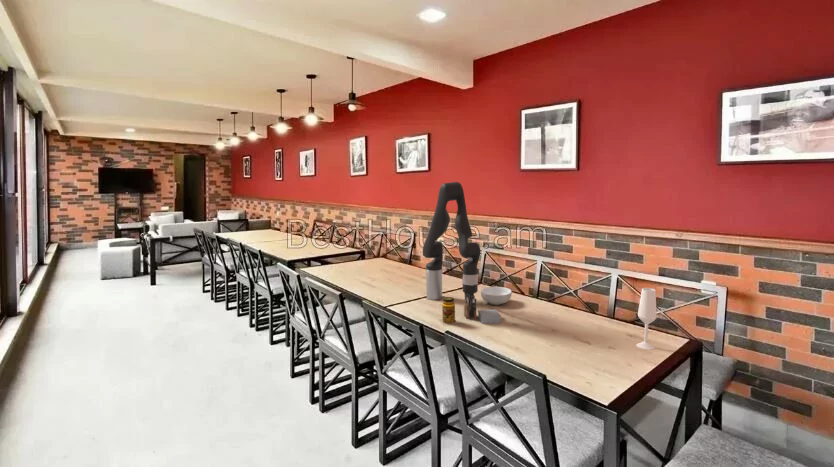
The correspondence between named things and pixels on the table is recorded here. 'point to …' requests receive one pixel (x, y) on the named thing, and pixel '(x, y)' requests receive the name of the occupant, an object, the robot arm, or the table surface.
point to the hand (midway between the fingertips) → (470, 315)
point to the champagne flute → (647, 313)
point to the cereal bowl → (496, 295)
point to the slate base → (489, 316)
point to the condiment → (448, 311)
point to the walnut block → (466, 311)
